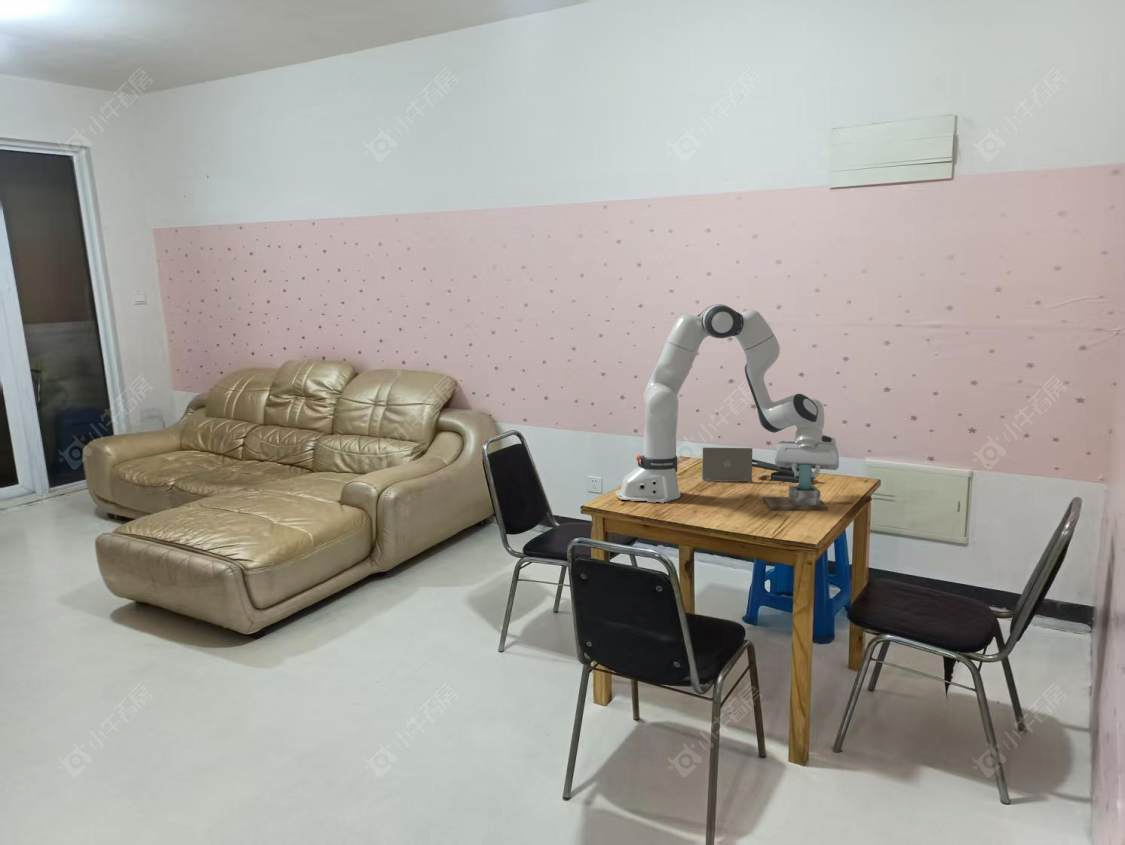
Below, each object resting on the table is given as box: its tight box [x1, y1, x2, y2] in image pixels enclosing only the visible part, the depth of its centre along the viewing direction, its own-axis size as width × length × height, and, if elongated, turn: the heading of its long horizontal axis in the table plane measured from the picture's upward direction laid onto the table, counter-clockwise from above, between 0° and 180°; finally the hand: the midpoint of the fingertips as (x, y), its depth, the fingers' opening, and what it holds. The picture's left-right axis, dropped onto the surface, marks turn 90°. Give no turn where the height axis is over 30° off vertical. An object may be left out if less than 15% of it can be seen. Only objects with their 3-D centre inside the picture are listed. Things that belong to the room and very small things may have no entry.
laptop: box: [701, 447, 753, 483], centre depth 288 cm, size 18×12×13 cm
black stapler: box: [752, 458, 814, 484], centre depth 284 cm, size 9×7×25 cm
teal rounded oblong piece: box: [798, 464, 812, 491], centre depth 249 cm, size 4×4×8 cm
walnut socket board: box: [762, 484, 829, 512], centre depth 250 cm, size 18×12×6 cm, turn 88°
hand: (804, 477), depth 249 cm, fingers closed on teal rounded oblong piece, 4 cm apart
